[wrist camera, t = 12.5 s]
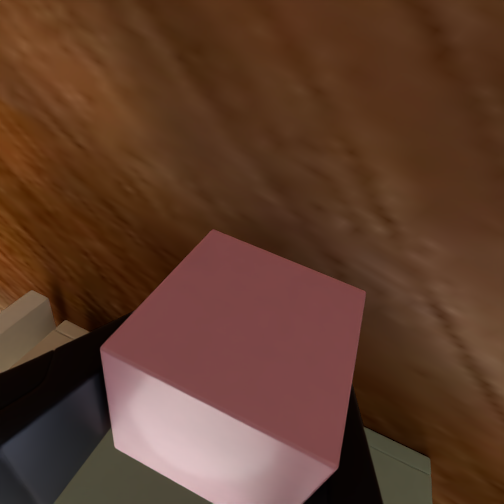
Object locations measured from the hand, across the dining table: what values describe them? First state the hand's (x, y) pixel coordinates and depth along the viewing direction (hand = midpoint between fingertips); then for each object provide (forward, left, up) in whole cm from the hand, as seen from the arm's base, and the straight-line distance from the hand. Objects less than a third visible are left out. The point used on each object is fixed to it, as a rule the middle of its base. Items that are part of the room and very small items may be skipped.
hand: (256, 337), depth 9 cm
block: (0, 0, -1) cm, 1 cm away
